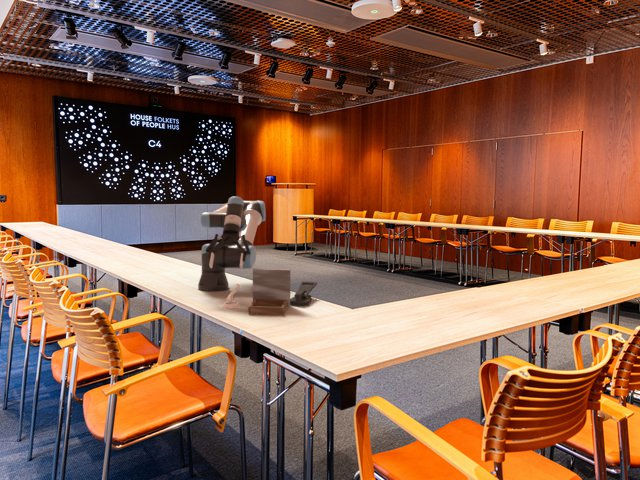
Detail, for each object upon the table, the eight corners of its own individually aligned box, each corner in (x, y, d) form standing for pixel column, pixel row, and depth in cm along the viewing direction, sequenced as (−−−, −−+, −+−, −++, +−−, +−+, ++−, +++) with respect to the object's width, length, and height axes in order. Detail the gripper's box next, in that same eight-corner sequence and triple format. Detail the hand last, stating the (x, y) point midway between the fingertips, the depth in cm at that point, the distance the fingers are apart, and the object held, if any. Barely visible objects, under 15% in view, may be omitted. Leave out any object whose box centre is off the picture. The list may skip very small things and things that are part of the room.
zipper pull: (318, 282, 231) (307, 291, 206) (318, 295, 231) (307, 307, 207) (300, 281, 232) (287, 290, 208) (300, 294, 233) (287, 305, 208)
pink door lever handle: (249, 296, 201) (235, 288, 199) (233, 318, 203) (219, 309, 201) (250, 289, 208) (237, 281, 206) (234, 310, 210) (221, 301, 208)
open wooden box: (253, 304, 208) (253, 268, 207) (290, 305, 208) (290, 269, 206) (245, 314, 192) (246, 274, 190) (285, 315, 191) (286, 275, 190)
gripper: (203, 221, 221) (196, 262, 210) (257, 222, 220) (252, 263, 209) (207, 230, 228) (200, 270, 217) (259, 231, 226) (254, 271, 216)
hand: (225, 267), depth 213 cm, fingers open, 13 cm apart
